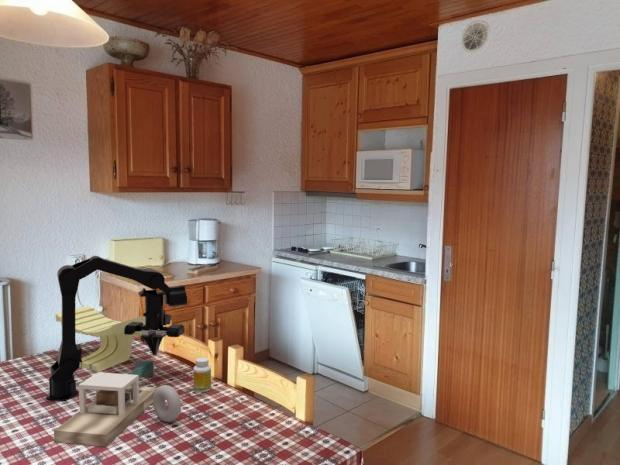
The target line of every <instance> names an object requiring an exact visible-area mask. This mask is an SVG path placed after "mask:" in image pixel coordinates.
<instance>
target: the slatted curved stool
mask: <svg viewBox="0 0 620 465" xmlns="http://www.w3.org/2000/svg"><path fill="white" fill-rule="evenodd" d="M55 322H58V323H60V325H61V326H62V311H59V312H56V313H55ZM132 322H142V323H143V326H144V325H145V316H143V315H142V316H140V317H136V318H131V319H129V320H125V321H118V320H114V319H111V318H109V317H106V315H103V314H102V313H101V312H100V311H98V310H96V309H95V308H94V307H91V306H88V305H85V306H80V307H77V308H76V307H75V334H81V335H85V336H90V337H94V338H100V340H101V345H100V347H99V348H98V349H97V350H95V351H94V352H92V353H90V354H88V355H86V356H83V357H81V359H82V363H81V362H80V366H79V368H82V369H86V370H91V371H95V372H102V371H104V370H107V369H109V368H112V367H114V366H115V367H116V366H117V365H120V364H122V363H124V362H127V361H129V359H130V358H131V354H132V345H133V340H134V336H135V335H137V336H138V337H140V338H141V335H142V331H135V333H134V334H133V335H128V334H124V328H125V326H126V325H128V324H130V323H132Z"/></svg>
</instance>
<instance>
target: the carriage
mask: <svg viewBox="0 0 620 465" xmlns="http://www.w3.org/2000/svg"><path fill="white" fill-rule="evenodd" d="M155 371H156V370H155V360H145V359H135V360H134V369H133V370H131V371H130V372H129V373H128V374H131V375H139V380H140V378H143V379H144V378H145V379H146V378H147V379H154V378H155V377H156V376H155ZM130 386H133V383H132V384H131V385H130ZM130 386H129V387H130ZM127 388H128V387H127ZM127 388H126V389H127ZM126 389H125V390H126ZM130 402H131V392H125V407H126V406H127V405H128V404H129V403H130ZM87 405H88V412H91V413H104V414H117V413H119V407H118V405H108V404H96V403H91V402H90V403H88V404H87Z"/></svg>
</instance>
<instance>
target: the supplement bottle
mask: <svg viewBox="0 0 620 465" xmlns="http://www.w3.org/2000/svg"><path fill="white" fill-rule="evenodd" d="M209 363H210V362H209V358H208V357H198V358H196V359H195V366H193V391H195V392H197V393H206V392H209V391H210V390H211V389H212V368H211V367H212V366H210V364H209Z"/></svg>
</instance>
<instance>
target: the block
mask: <svg viewBox="0 0 620 465" xmlns="http://www.w3.org/2000/svg"><path fill="white" fill-rule="evenodd" d="M95 399H96V404H108V405H118V391H109V390H100V391H99V392H97V393H96V392H95Z"/></svg>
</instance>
